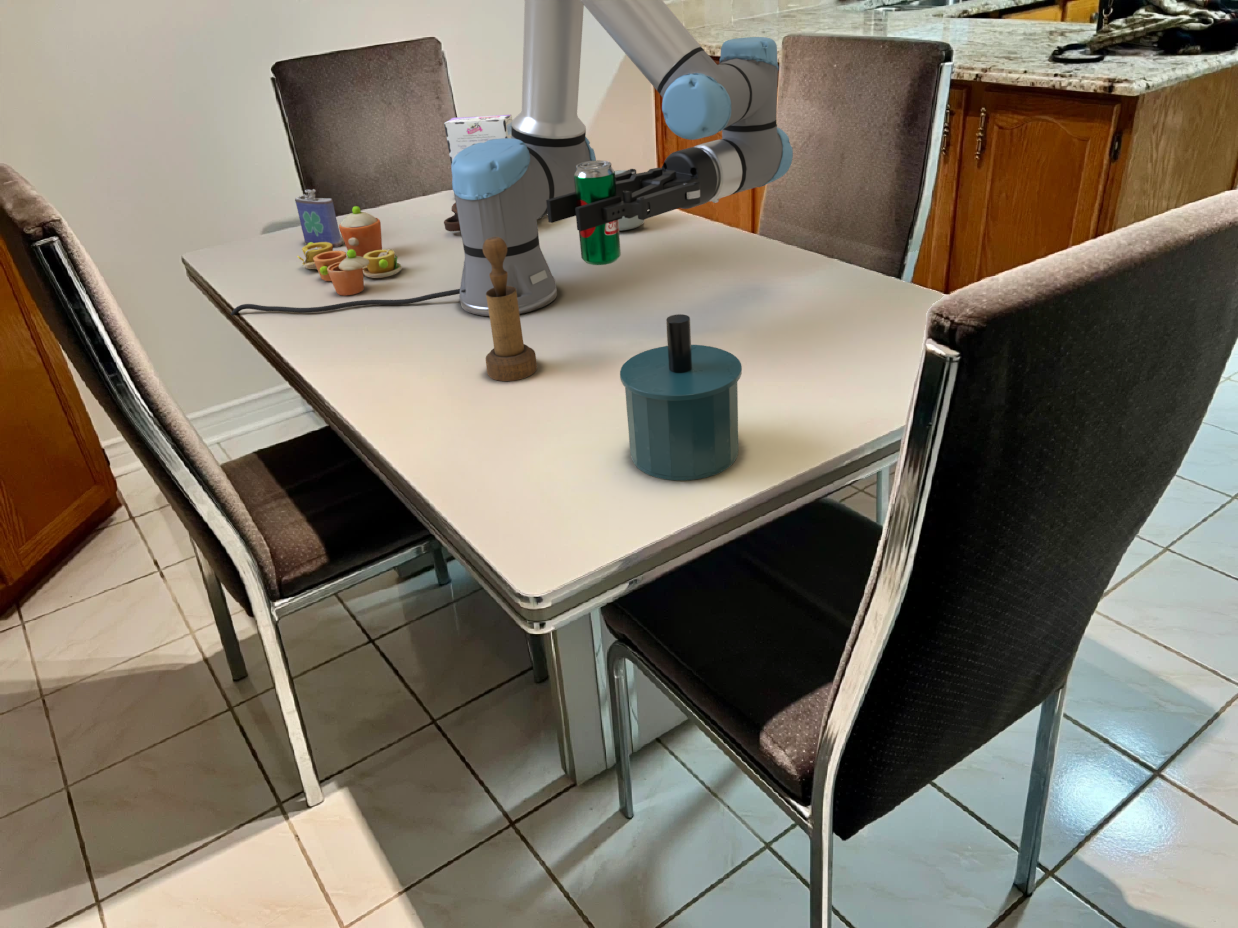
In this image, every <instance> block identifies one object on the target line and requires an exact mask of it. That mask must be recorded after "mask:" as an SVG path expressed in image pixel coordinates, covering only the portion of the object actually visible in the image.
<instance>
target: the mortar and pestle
mask: <svg viewBox="0 0 1238 928" xmlns="http://www.w3.org/2000/svg"><path fill="white" fill-rule="evenodd" d="M483 253H484V255H485V257H486V258H487V260H488V261H489V262H490V264H491V266H492V271H491V273H490V274H489V276H490V279H491V282H492V284H493V286H494V288H492V289H490V290H488V291H487V292H486V298H487V304H488V310H489V316H488V317H489V321H490V329H491V335H492V343H493V348H491V350H490V351H489V352H488V353H487V354H486V355H485V365H486V366H485V367H486V373H487V375H488V377H489V378H490V379H492V380H495V381H500V382H511V381H520V380H522V379H523V380H524V379H526V378H528V377H530V376H532V375H533V374H535V373H536V372H537V370H538V362H537V355H536V351H535V350H534V349H533V348H532V347H530V346H528V345H527V344H525V343H524V337H523V329H522V324H521V316H520V315H521V314H519V307H518V300H517V292H516V288H514V287H512V286H506V285H507V276H508V274H507V271H505V270H504V269H503V262H504V259H505V257H506V254H507V245H506V243H505V241H504V240H503V239H502V238H500V237H491V238H488V239H487V240H485V242H484V244H483Z"/></svg>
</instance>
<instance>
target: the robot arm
mask: <svg viewBox="0 0 1238 928" xmlns="http://www.w3.org/2000/svg"><path fill="white" fill-rule="evenodd" d="M584 7H585V8H586V10H587V11H588V12H589V13H590V14H591V15H592V17H594V19H595V20H596V21H597V22H598V24H599V25H600V26H601V27H602V28H603V29H604V30H605V31H606V33H607V34H608V35H609V36H610V38H611V39H612V40H613V41H614V42H615V43H616V45H617V46H618V48H620V49H621V50H622V52H623V53H624V54H625V55H626V56H627V57H628V58H629V60H630V61H631V62H632V63H633V64H634V65H635V67H636V68H637V69H638V70H639V71H640V72H641V74H642V75H643V76H644V77H645V79H647V80H648V83H650V84H651V86H653V88H654V89H655V91H656V92H657V93H658V94H659V95H660V96H661V98H662V103H661V111H662V113H663V118H664V121H665V124H666V125H667V127H668V129H669V130H670V131H671V132H672V133H673V134H674V135H676V136H678V137H679V138H682V139H685V140H689V141H693V140H699V139H703V138H708V137H711V136H715V135H716V134H718V133H720V132H721V139H716V140H711V141H707V142H703V143H699V144H696V145H694V146H690V147H687V148H684V149H680V150H677V151H676V150H675V151H673V152H671V153H669V155H668V156H667V157H666V158H665V160H664V162H663V164H662V166H661V167H654V168H649V170H647V171H643V172H637V169H636V168H629V169H627V171H625V172H623V173H620V174H616V175H615V179H616V193H617V196H613V197H610V198H607V199H603V200H600V201H596V202H593V203H589V204H586V205H583V206H579V207H577V205H576V194H575V183H574V174H575V172H576V169H577V168H576V165H578V164H580V163H583V162H587V161H597V158H596V153H595V150H594V148H593V147H591V145H590V144H591V142H590V140H589V139H588V137H587V136H586V135H587V134H586V133H587V127H586V124H585V123H584V122H583V121H582V120H581V119H580V117H579V116H578V106H579V89H580V88H579V87H580V73H581V57H582V41H583V40H582V39H583V27H584V26H583V25H584V24H583V23H584V22H583V21H584ZM523 8H524V13H523V46H522V52H523V53H522V81H521V82H522V83H521V84H522V85H521V86H522V87H521V88H522V89H521V90H522V91H521V110H520V111H521V112H520V113H519V114H517V115H516V116H515V117H514V118H512V128H511V138H501V139H493V140H488V141H486V142H484V143H477V144H474V145H471V146H469V147H467V148H465V149H463V150H462V151H460V152H459V153H458V154H457V155H456V156H455V157H454V159H453V161H452V166H451V165H450V166H451V178H452V181H451V187H452V192H453V194H454V195H453V196H454V200H455V203H456V207H457V213H458V218H459V224H460V230H461V231H460V235H461V240H462V241H461V242H462V246H463V252H464V261H463V267H462V272H461V273H462V274H461V279H460V287H459V288H457V289H456V288H455V289H450V290H445V291H439V292H434V293H430V294H425V295H421V296H416V297H412V298H402V299H401V298H399V299H362V300H353V301H346V302H340V303H335V304H330V305H324V306H313V307H312V306H311V307H293V306H292V307H291V306H275V305H260V304H254V303H244V304H240V305H237V306H235V308H233V310H232V311H231V312H230V316H236V315H237V314H238V313H239V312H241V311H243V310H255V311H261V312H283V313H297V314H298V313H299V314H310V313H320V312H321V313H322V312H328V311H335V310H340V309H346V308H351V307H352V308H353V307H360V306H376V305H378V306H379V305H381V306H396V305H397V306H399V305H400V306H401V305H410V304H417V303H422V302H425V301H430V300H435V299H440V298H444V297H445V298H446V297H450V296H456V295H459V301H460V306H461V309H462V310H464V311H466V312H467V313H470V314H473V315H478V316H482V317H490V316H489V310H488V304H487V298H486V292H487V291H488V290H490V289H492V288H494V286H493V284H492V282H491V279H490V276H489V274H490V273H491V271H492V266H491V264H490V262H489V261H488V260H487V258H486V257H485V255H484V253H483V244H484V242H485V240H487V239H488V238H491V237H500V238H502V239H503V240H504V241H505V243H506V245H507V254H506V257H505V259H504V262H503V269H504V270H505V271H507V274H508V276H507V285H506V286H512V287H514V288H516V292H517V300H518V307H519V315H521V314H525V313H529V312H533V311H536V310H539V309H541V308H543V307H546V306H547V305H550V303H552V302H553V301H555V299H556V298H557V296H558V291H557V289H558V288H557V283H556V280H555V277H554V276H553V273H552V271H551V269H550V267H549V264H548V262H547V260H546V258H545V256H544V254H543V251H542V249H541V244H540V238H539V229H538V221H537V220H540V219H542V218H544V217H546V216H547V220H548V223H552V224H554V223H556V222H560V221H563V220H566V219H570V218H574V217H575V220H576V231H578V232H579V231H583V230H587V229H590V228H593V227H596V226H599V225H603V224H606V223H609V222H612V221H616V220H619V219H622V217H623V216H624V217H625V218H633V217H635V216H637V215H638V219H641V220H644V221H645V220H647V219H650V218H653V217H656V216H659V215H663V214H666V213H668V212H672V211H674V210H678V209H681V210H682V209H683V210H689V209H693V208H696V207H699V206H702V205H705V204H707V203H710V202H712V203H713V204H716V203H717V204H718V203H719V201H720V199H722V198H725V197H729V196H733V195H735V194H738V193H742V192H745V191H748V190H752V189H756V188H761V187H765V186H766V185H769V184H770V183H773V182H775V181H777V180H779V179H781V178H782V177H784V176H785V175H786V174H787V172H789V169H790V168H791V166H792V162H793V158H794V151H793V150H794V149H793V146H792V145H791V142H790V137H789V135H788V134H787V133H786V132H785V131H784V130H783V129H782V128H780V127H778V124H777V114H778V113H777V111H778V110H777V109H778V107H777V106H778V76H779V75H778V73H779V70H780V68H779V64H778V45H777V43H776V41H775V40H774V39H773V38H770V37H766V36H765V37H764V36H748V37H735V38H730V39H727V40H725V41H724V42H723V43H722V45H721V47H720V56H719V63H716V62H715V60H714V59H713V58H712V57H711V56H710V55H709V54H708V52H706V50H704V48H703V47H702V45H701V44H700V43H699V42H698V41H697V39H696V38H695V37H694V36H693V35H692V34H691V33H690V31H689V30H688V29H687V28H686V27H685V26H684V24H683V23H682V22H681V21H680V19H679V18H678V17H677V16H676V14H674V12H673V11H672V10H671V9H670V7H669V6H668V5H667V4H666V3H665V2H664V0H524V7H523Z"/></svg>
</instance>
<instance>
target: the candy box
mask: <svg viewBox="0 0 1238 928" xmlns="http://www.w3.org/2000/svg"><path fill="white" fill-rule="evenodd" d="M512 120H513V116H512V114H498V115H497V114H496V115H480V116H477V115H476V116H461V117H451V118H450V119H448V120H447V121H445V122H443V126H444V131H445V137H446V142H447V149H448V155H449V161H450V166H452V161H453V159H454V157H455V156H456V155H457V154H458V153H459V152H460V151H462V150H463V149H465V148H467V147H469V146H471V145H474V144H477V143H484V142H486V141H488V140H493V139H501V138H511V128H512Z"/></svg>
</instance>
